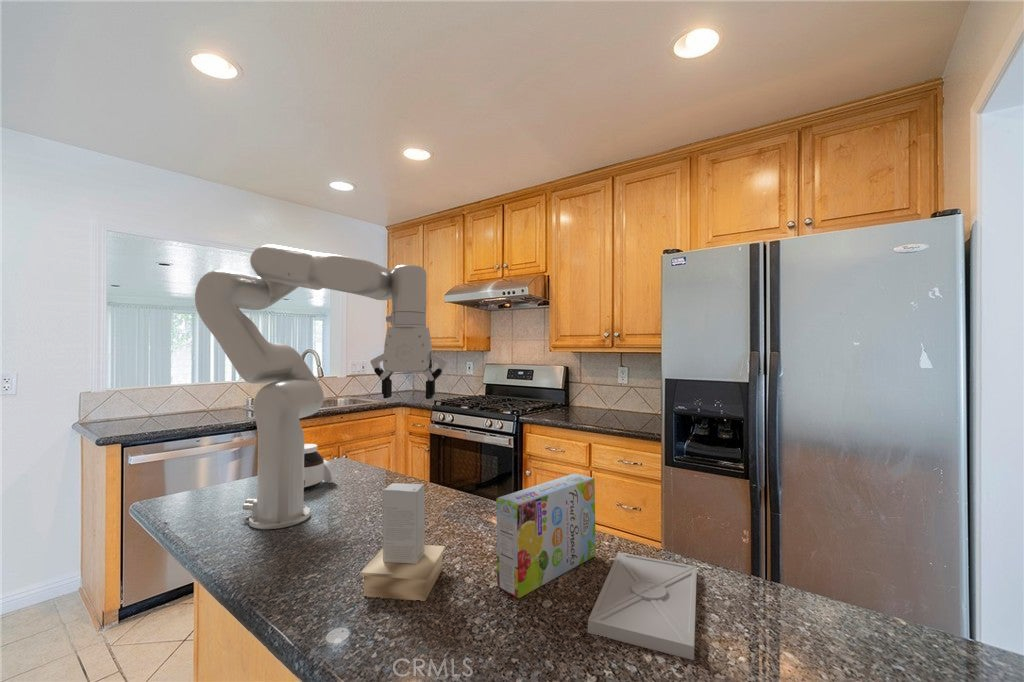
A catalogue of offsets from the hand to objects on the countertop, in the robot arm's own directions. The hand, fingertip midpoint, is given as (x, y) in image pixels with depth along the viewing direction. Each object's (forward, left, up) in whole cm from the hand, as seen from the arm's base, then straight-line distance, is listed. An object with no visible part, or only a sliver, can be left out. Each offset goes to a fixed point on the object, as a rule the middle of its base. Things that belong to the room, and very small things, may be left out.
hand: (408, 398), depth 99 cm
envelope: (+48, -23, -29) cm, 61 cm away
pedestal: (+8, -23, -28) cm, 37 cm away
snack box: (+32, -16, -29) cm, 46 cm away
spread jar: (-37, +24, -29) cm, 53 cm away
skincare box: (+8, -23, -24) cm, 34 cm away
